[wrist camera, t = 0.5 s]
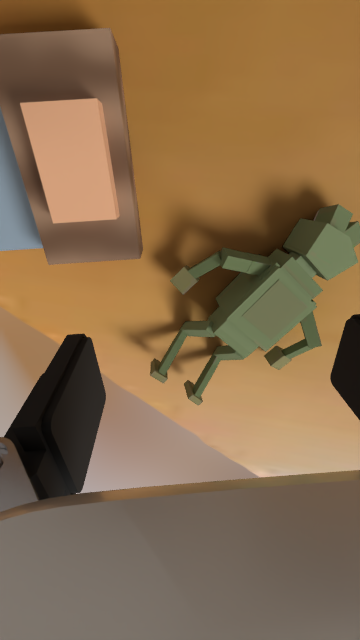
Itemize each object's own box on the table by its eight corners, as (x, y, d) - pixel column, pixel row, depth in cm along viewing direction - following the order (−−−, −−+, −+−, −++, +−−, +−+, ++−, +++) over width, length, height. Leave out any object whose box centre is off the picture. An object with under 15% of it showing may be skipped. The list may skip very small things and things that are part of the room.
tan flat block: (30, 107, 23) (19, 102, 21) (102, 103, 23) (96, 98, 21) (60, 219, 27) (53, 223, 25) (119, 216, 27) (116, 219, 26)
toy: (218, 398, 46) (371, 267, 37) (229, 435, 39) (418, 285, 31) (116, 330, 38) (278, 145, 30) (108, 361, 32) (314, 135, 23)
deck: (5, 54, 24) (-22, 35, 21) (118, 48, 24) (110, 28, 21) (61, 254, 33) (48, 264, 29) (142, 248, 33) (140, 258, 30)
